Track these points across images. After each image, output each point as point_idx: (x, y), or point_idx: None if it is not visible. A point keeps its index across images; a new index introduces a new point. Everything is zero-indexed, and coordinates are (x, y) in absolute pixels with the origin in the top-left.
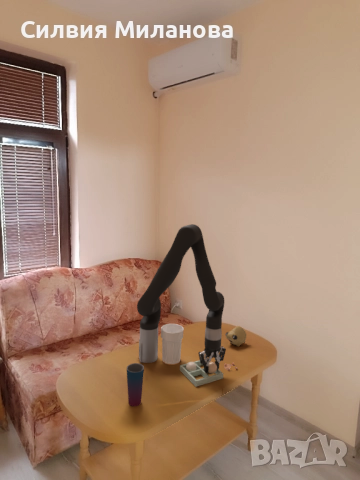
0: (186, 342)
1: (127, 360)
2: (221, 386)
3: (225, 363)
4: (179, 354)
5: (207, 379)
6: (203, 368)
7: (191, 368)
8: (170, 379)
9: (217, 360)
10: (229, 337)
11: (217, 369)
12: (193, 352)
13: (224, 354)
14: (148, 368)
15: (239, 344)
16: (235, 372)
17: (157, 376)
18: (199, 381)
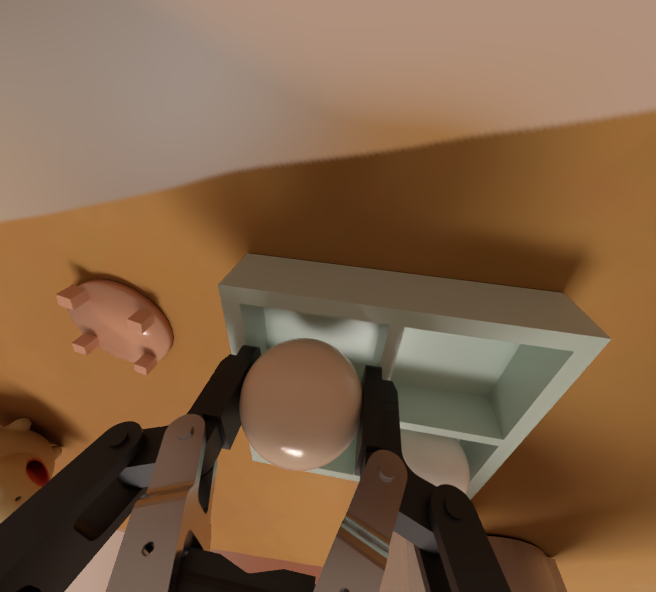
0: (258, 523)
1: (578, 579)
2: (327, 171)
3: (139, 371)
4: (394, 550)
5: (433, 303)
6: None
7: (456, 464)
8: (593, 443)
9: (198, 464)
10: (16, 502)
11: (249, 353)
12: (269, 488)
13: (3, 527)
14: (571, 530)
15: (3, 430)
16: (102, 271)
17: (618, 489)
18: (547, 321)
